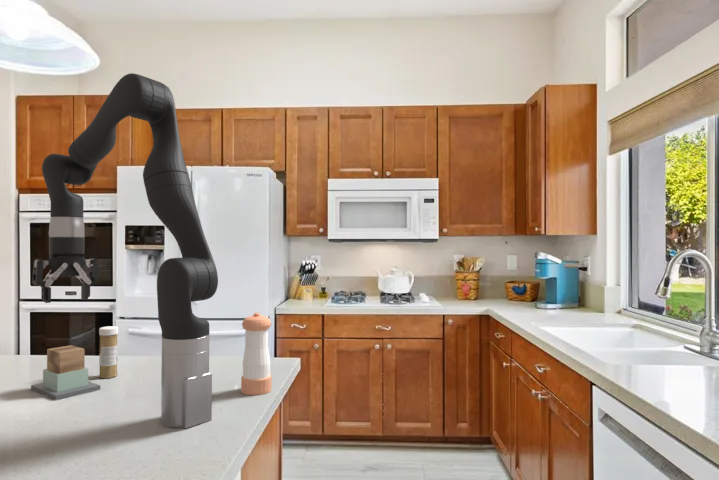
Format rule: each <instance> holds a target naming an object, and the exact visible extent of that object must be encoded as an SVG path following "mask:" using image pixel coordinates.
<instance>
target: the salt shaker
mask: <svg viewBox="0 0 719 480" xmlns="http://www.w3.org/2000/svg"><path fill="white" fill-rule="evenodd" d="M241 323H242V324H241V326H242V329H243V330H244V331H245V333H244V334H245V335H244V337H245V341H244V342H245V343H244V344H245V345H244V352H243V360H242V376H241V379H240V383H241V385H240V386H241V387H240V388H241V389H240V390H241V391H240V392H241V393H242V394H244V395H248V396H257V395H258V396H260V395H264V394H268V393H270V392H271V391H272V378H273V377H272V375H271V358H270V351H269V329H270V328H271V326H272V321H271V319H270V318H269V317H267V316H266V315H261V314H260V313H259V312H254V313H253V315H249V316H247V317H245V318H244V319H243V320H242V322H241Z"/></svg>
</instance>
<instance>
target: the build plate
mask: <svg viewBox="0 0 719 480" xmlns="http://www.w3.org/2000/svg"><path fill="white" fill-rule="evenodd" d="M30 389H31V390H32V391H34V392H37V393H39V394H41V395H43V396H45V397H48V398H50V399H51V400H52V399H53V400H55V401H58V400H63V399H66V398H70V397H74V396H79V395H83V394H86V393H91V392H95V391H99V390H101V384H98V383H95V382H91V381H89V368H87V367H85V366H84V369H82V370H77V371H72V372H67V373H62V374H59V373H56V372H53V371H50V370H47V368H45V369H42V382H40V383H36V384H31V385H30Z"/></svg>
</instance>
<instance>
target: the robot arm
mask: <svg viewBox="0 0 719 480" xmlns="http://www.w3.org/2000/svg"><path fill="white" fill-rule="evenodd" d="M176 111H177V110H176V103H175V98H174V95H173V93H172V91H171V89H170V87H169V86H167V85H166V84H164V83H163V82H160V81H157V80H155V79H153V78H150V77H146V76H144V75H141V74H138V73H133V72H132V73H127V74H125V75H123V76H122V77H121V78H120V79H119V80H118V81H117V82H116V83H115V85H114V86H113V88H112V90H111V91H110V92H109V94H108V96H107V97H106V99H105V100H104V101H103V103H102V105H101V107H100V108H99V110H98V111H97V113H96V114H95V117H94V118H93V119H92V121H91V122H90V124H89V125H88V126H87V127H86V128H85V129H84V130H83V132H81V133H80V134H79V135H78V136H77V137H76V138H74V140H73V141H72V142H71V144H70V145H69V147H68V149H67V151H68V155H65V154H62V153H61V154H60V153H50V154H49V155H47V156H46V157H44V160H43V162H42V164H41V165H42V166H41V172H42V176H43V179H44V183H45V186H46V190H47V192H48V197H49V199H50V211H49V212H50V213H49V214H50V215H49V216H50V218H49V219H50V220H49V223H48V225H49V226H48V255H49V257H48V260H43V259H35V260H34V261H33V264H32V265H33V267H32V278H31V284H32V285H35V286H40V288H41V290H40V294H41V296H40V297H41V300H42V301H43V302H44V303H45V304H49V303H50V304H51V302H52V287H51V285H52V284H53V283H54V281H56V280H57V279H58V278H59V277H60V278H65V277H66V278H67V277H76V278H77V279H78V280H79V281H80V283H82V284H81V287H80V290H81V291H80V292H81V293H80V298H81V300H82V301H83V300H84V301H86V300H89V298H90V296H91V285H92V284H94V283H95V282H96V283H97V282H98V281H99V264H98V259H97V258H89V259H87V258H86V259H85V221H84V199H83V197H82V196H81V195H80V194H77V193H74V192H72V191H70V190H69V189H68V187H67V185H72V186H82V185H85V184H87V183H88V182H90V180H92V177H93V175H94V172H95V170H96V168H97V166H98V164H99V163H101V161H103V160H104V158H106V156H108V155H109V154H110V153H111V151H112V150H113V149H114V147H115V144H116V142H117V141H116V140H117V126H118V124H119V123H120V122H122V120H124V119H125V118H128V117H131V118H135V119H138V120H142V121H145V122H148V124H149V125H150V129H151V133H152V138H153V139H152V141H153V145H152V149H151V151H150V153H149V156H148V157H147V159H146V162H145V164H144V168H143V170H142V179H143V184H144V189H145V192H146V197H147V201H148V204H149V206H150V208H151V210H152V211H153V212H154V214H155V215H156V216H157V218H158V219H159V221H160V222H161V223H162V225H164V226H165V228H166V229H168V231H169V233H171V235H172V236H173V237H174V239H175V242H176V243H177V245H178V248H179V250H180V255H181V257H172V258H168V259H166V260H164V261H163V262H162V264H161V265H160V266H159V268H158V272H157V275H156V297H157V312H158V315H157V316H158V322H159V326H160V328H161V380H160V381H161V382H160V383H161V389H160V390H161V391H160V394H161V395H160V396H161V397H160V400H161V402H160V404H161V405H160V407H161V408H160V410H161V412H160V413H161V414H160V415H161V418H160V419H161V420H160V421H161V424H162V426H165V427H170V428H184V429H188V428H191V427H193V426H197V425H199V424H202V423H205V422H208V421H210V420H213V419H212V418H213V417H212V416H213V415H212V414H213V412H212V411H213V409H212V408H213V405H212V404H213V403H212V402H213V401H212V400H213V397H212V395H213V392H212V391H213V374H212V373H211V372H210V322H209V320H207V319H205V318H203V317H198V316H196V315H195V314H194V313H193V309H192V302H201V301H205V300H209V299H211V298H212V297H213V296H214V295H215V294H216V292H217V290H218V286H219V277H218V271H217V266H216V263H215V260H214V257H213V255H212V252H211V249H210V247H209V245H208V244H209V243H208V241H207V239H206V236H205V233H204V230H203V226H202V223H201V220H200V215H199V211H198V208H197V205H196V199H195V197H194V192H193V191H194V190H193V187H192V183H191V178H190V174H189V171H188V168H187V164H186V160H185V156H184V152H183V151H184V150H183V147H182V143H181V138H180V132H179V125H178V117H177V112H176ZM46 266H47V267H48V268H49V269H50V270H49V272H48V273H47V274H46V275H45V278H44V279H43V274H44V269H46ZM85 266H86V267H88V274H87V273H86V272H85V271H84V269H83V268H84V267H85Z"/></svg>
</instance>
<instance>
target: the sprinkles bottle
mask: <svg viewBox="0 0 719 480" xmlns="http://www.w3.org/2000/svg"><path fill="white" fill-rule="evenodd" d="M98 334H99V356H98V357H99V362H98V363H99V364H98V365H99V375H98V377H99V378H100V379H111V378H112V379H113V378H115V377H117V376H118V375H119V374H118V355H119V354H118V353H119V352H118V349H119V348H118V336H119V335H118V334H119V326H115V325H112V326H111V325H110V326H109V325H107V326H102V327H99V329H98Z"/></svg>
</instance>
